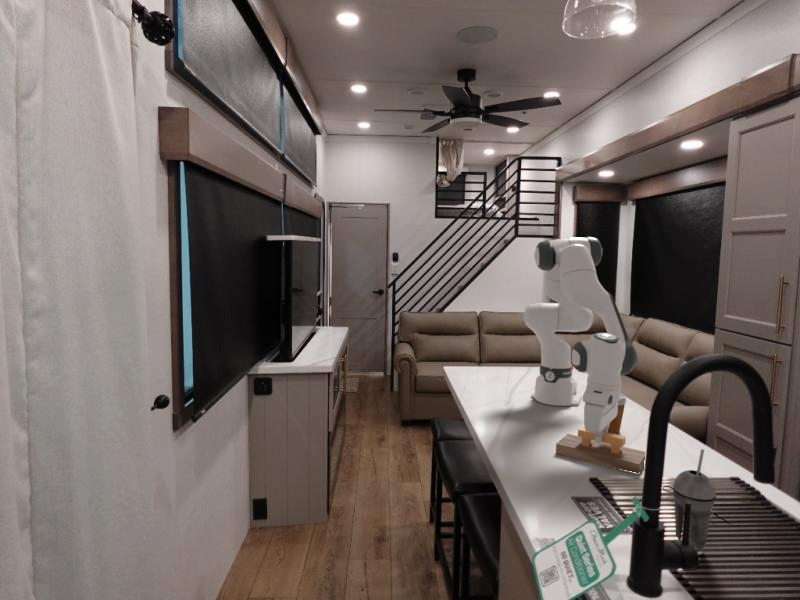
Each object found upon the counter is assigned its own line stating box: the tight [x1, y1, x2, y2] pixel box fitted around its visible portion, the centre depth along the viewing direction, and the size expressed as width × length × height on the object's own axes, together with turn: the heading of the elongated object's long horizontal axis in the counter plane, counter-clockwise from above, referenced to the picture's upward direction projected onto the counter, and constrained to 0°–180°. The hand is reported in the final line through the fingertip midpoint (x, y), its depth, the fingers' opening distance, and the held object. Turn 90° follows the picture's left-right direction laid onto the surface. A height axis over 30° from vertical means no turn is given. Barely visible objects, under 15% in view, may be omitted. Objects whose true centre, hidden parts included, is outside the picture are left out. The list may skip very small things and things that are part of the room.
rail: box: [555, 433, 646, 473], centre depth 137 cm, size 10×22×3 cm, turn 52°
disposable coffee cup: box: [607, 393, 628, 435], centre depth 159 cm, size 10×10×12 cm
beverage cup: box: [671, 448, 717, 551], centre depth 93 cm, size 7×7×20 cm
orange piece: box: [577, 426, 626, 454], centre depth 136 cm, size 3×12×6 cm, turn 52°
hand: (601, 439), depth 136 cm, fingers closed on orange piece, 3 cm apart
